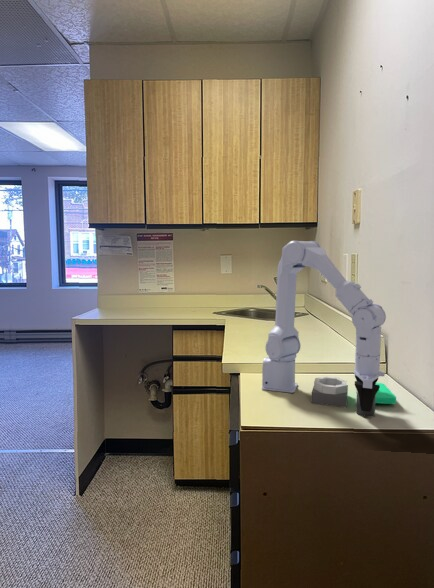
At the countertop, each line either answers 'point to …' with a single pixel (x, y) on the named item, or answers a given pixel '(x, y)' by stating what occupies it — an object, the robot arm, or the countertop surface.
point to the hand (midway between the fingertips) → (365, 406)
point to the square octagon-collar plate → (330, 391)
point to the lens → (364, 413)
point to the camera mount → (384, 395)
